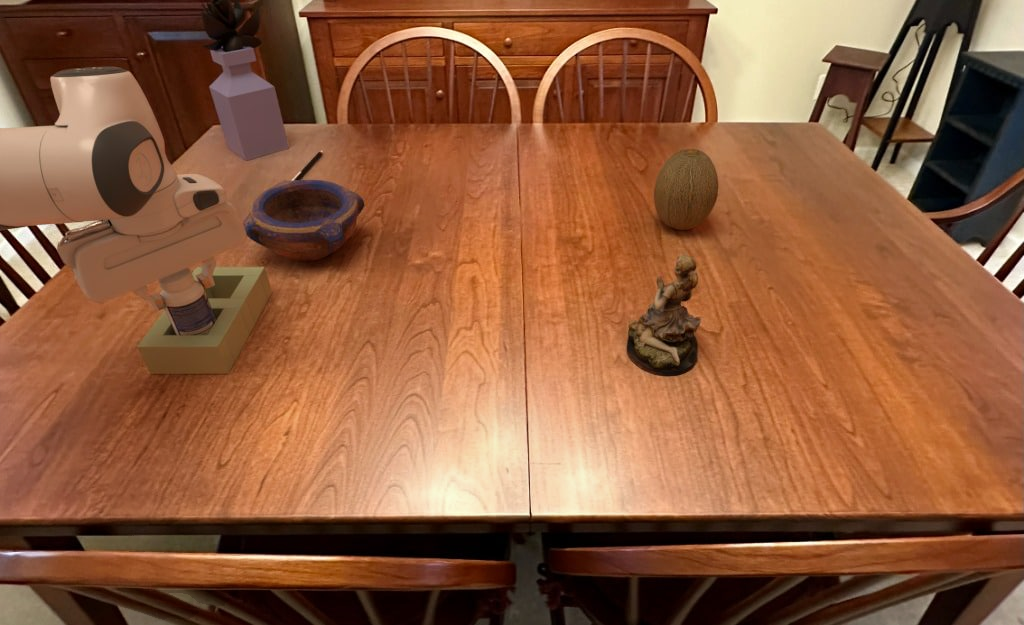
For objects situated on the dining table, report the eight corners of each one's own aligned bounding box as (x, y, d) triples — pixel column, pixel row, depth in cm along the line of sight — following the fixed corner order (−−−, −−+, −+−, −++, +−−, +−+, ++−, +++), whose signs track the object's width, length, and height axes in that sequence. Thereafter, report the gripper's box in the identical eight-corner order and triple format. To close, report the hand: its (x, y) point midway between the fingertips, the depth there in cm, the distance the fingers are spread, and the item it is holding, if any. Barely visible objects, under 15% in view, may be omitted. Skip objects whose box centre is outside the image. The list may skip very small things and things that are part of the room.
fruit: (718, 222, 116) (736, 147, 107) (695, 247, 109) (712, 169, 100) (663, 205, 121) (675, 133, 112) (638, 228, 114) (649, 153, 105)
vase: (278, 132, 153) (240, -24, 132) (300, 144, 147) (263, -18, 125) (223, 147, 146) (172, -16, 124) (243, 161, 139) (194, -8, 117)
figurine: (649, 313, 93) (663, 228, 84) (714, 342, 88) (738, 255, 79) (607, 352, 86) (618, 264, 77) (676, 386, 81) (697, 296, 72)
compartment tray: (228, 374, 83) (217, 346, 80) (150, 374, 83) (136, 346, 80) (272, 292, 98) (264, 266, 95) (206, 292, 98) (196, 266, 95)
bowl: (339, 281, 101) (328, 229, 94) (241, 270, 103) (224, 218, 97) (379, 228, 114) (371, 180, 108) (292, 219, 117) (279, 171, 111)
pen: (288, 188, 128) (287, 183, 127) (321, 152, 143) (320, 147, 142) (292, 188, 128) (291, 183, 127) (325, 152, 143) (324, 147, 142)
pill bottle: (226, 328, 86) (205, 271, 80) (193, 349, 82) (168, 291, 76) (203, 315, 88) (180, 259, 82) (169, 335, 85) (143, 278, 79)
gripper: (59, 247, 65) (111, 344, 74) (236, 184, 77) (263, 274, 86) (40, 228, 69) (92, 322, 77) (212, 170, 81) (241, 258, 89)
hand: (184, 296), depth 82 cm, fingers closed on pill bottle, 5 cm apart
